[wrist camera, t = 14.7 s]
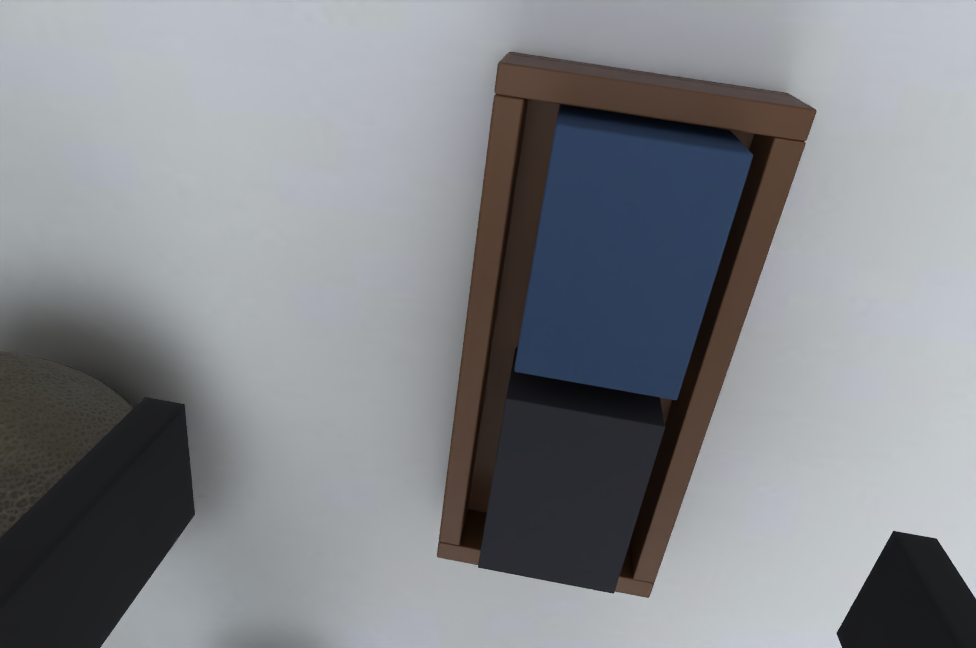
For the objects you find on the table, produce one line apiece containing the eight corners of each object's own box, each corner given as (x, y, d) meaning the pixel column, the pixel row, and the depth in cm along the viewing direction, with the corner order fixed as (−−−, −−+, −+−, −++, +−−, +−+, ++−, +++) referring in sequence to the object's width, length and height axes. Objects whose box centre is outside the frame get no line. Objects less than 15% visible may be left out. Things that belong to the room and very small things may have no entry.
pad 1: (665, 347, 28) (677, 401, 24) (522, 323, 28) (513, 372, 25) (729, 127, 24) (754, 154, 20) (560, 101, 24) (556, 123, 21)
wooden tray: (643, 545, 34) (649, 598, 31) (449, 508, 35) (436, 557, 32) (789, 93, 24) (818, 109, 21) (508, 51, 24) (498, 61, 21)
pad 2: (611, 527, 33) (614, 594, 29) (489, 504, 33) (477, 567, 30) (655, 371, 29) (665, 427, 25) (515, 346, 29) (505, 398, 25)
